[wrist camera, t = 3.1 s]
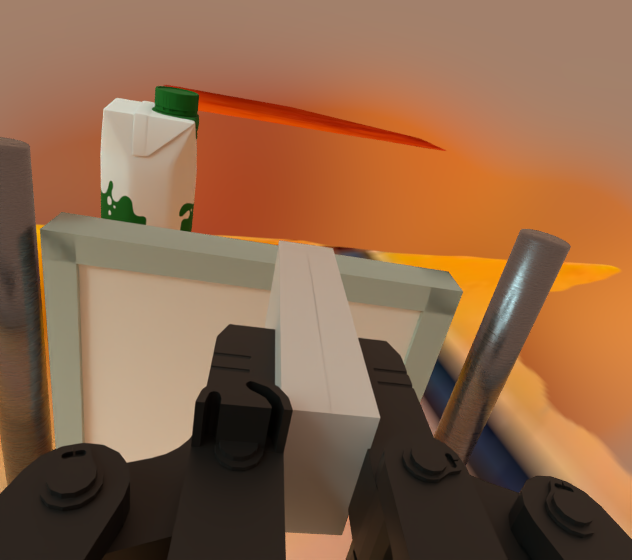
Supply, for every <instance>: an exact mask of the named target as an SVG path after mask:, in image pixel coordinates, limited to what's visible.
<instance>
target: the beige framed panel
mask: <svg viewBox="0 0 632 560" xmlns="http://www.w3.org/2000/svg"><path fill="white" fill-rule="evenodd" d="M40 234H41V248H42V262H43V276H44V290H45V304H46V318H47V332H48V346H49V360H50V374H51V388H52V402H53V416H54V430H55V444H56V449H57V448H59V447H62V446H67V445H73V444H79V443H92V444H101V445H105V446H107V447H109V448H111V449H113V450H115V451H117V452H119V453H120V454H121V456H122V457H123V458H124V459H125V461H126V462H133V461H138V460H143V459H148V458H153V457H156V456H160V455H164V454H167V453H169V452H171V451H173V450H175V449H177V448H179V447H180V446H181V445H182V444H184V443H185V442H186V441H188V440H189V439H190V437H191V436H192V431H193V421H194V410H195V401H196V399H197V397H198V396H199V394H200V392H201V390H202V389H203V388H204V387H206V386H207V382H208V377H209V372H210V368H211V362H212V357H213V353H214V348H215V343H216V338H217V336H218V335H219V334H220V333H221V332H222V331H223V330H224V329H225V328H226V327H227V326H228V325H229V324H234V325H243V326H251V327H259V328H265V323H266V317H267V311H268V305H269V299H270V293H271V287H272V281H273V275H274V269H275V263H276V257H277V251H278V245H271V244H265V243H258V242H252V241H245V240H239V239H232V238H226V237H219V236H213V235H206V234H200V233H193V232H187V231H180V230H174V229H167V228H161V227H154V226H148V225H141V224H135V223H128V222H122V221H116V220H109V219H103V218H95V217H90V216H83V215H76V214H70V213H64V212H61V213H60V214H59V215H58V216H56V217H55V218H54V219H52V220H51V221H50V222H49V223H48V224H46V225H45V226H44V227H42V228H41V229H40ZM335 258H336V261H337V265H338V268H339V272H340V276H341V279H342V283H343V286H344V290H345V293H346V297H347V301H348V304H349V308H350V311H351V315H352V318H353V322H354V326H355V329H356V333H357V336H358V338H365V339H373V340H382V341H387V342H388V343H389V344H390V345H391V346H392V347H393V348H394V349H395V350H396V351H397V352H398V353H399V354H400V355H401V358H402V360H403V363H404V365H405V368H406V370H407V375H409V377H410V380H411V382H412V388H414V390H415V392H416V395H417V397H418V400H419V402H421V399H422V396H423V394H424V391H425V389H426V386H427V384H428V381H429V378H430V376H431V373H432V371H433V368H434V365H435V363H436V360H437V358H438V355H439V352H440V350H441V347H442V345H443V342H444V340H445V337H446V334H447V332H448V329H449V327H450V324H451V321H452V319H453V316H454V314H455V311H456V308H457V306H458V303H459V301H460V298H461V296H462V293H463V291H462V290H461V288H460V287H459V286H458V284H457V283H456V281H455V280H454V279H453V277H452V276H451V275H450V273H449V272H447V271H440V270H434V269H427V268H421V267H414V266H408V265H401V264H395V263H388V262H382V261H375V260H369V259H362V258H356V257H349V256H343V255H336V254H335Z"/></svg>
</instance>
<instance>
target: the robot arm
mask: <svg viewBox="0 0 632 560" xmlns="http://www.w3.org/2000/svg"><path fill="white" fill-rule="evenodd" d="M348 515H349V520H350V526H351V533H352V539H353V540H352V543H351V546H350V549H349V552H348V555H347V557H346V560H632V539H631V538H630V537H629V536H628V535H627V534H626V533H625V532H624V530H623V529H622V528H621V527H620V526H619V525H618V524H617V523H616V522H615V521H614V520H613V519H612V518H611V517H610V515H609V514H608V513H607V512H606V511H605V510H604V509H603V508H602V507H601V506H600V505H599V504H598V503H597V502H595V501H594V500H593V499H592V498H591V497H590V496H589V495H588V494H586V493H585V492H584V491H582V490H580V489H579V488H577V487H575V486H573V485H572V484H570V483H568V482H566V481H563V480H560V479H557V478H554V477H551V476H535V477H533V478H531V479H529V480H527V481H526V482H525V484H524V486H523V488H522V490H521V491H520V493H517V492H515V491H512V490H509V489H506V488H503V487H500V486H497V485H494V484H492V483H489V482H486V481H483V480H481V479H478V478H476V477H474V476H471V475H469V472H468V470H467V468H466V466H465V465H464V463H463V462H462V460H461V459H460V457H459V456H458V454H457V453H455V452H454V451H453V450H452V449H451V448H450V447H448V446H447V445H446V444H445V443H443V442H441V441H439V440H437V439H435V438H434V437H433V435H432V432H431V430H430V427H429V425H428V422H427V420H426V417H425V415H424V412H423V410H422V407H421V405H420V402H419V400H418V397H417V395H416V392H415V390H414V388H412V382H411V380H410V377H409V375H407V370H406V368H405V365H404V363H403V360H402V358H401V355H400V354H399V353H398V352H397V351H396V350H395V349H394V348H393V347H392V346H391V345H390V344H389V343H388V342H387V341H382V340H373V339H365V338H358V336H357V333H356V329H355V326H354V322H353V318H352V315H351V311H350V308H349V304H348V301H347V297H346V293H345V290H344V286H343V283H342V279H341V276H340V272H339V268H338V265H337V261H336V258H335V254H334V251H333V248H327V247H320V246H314V245H307V244H300V243H293V242H287V241H280V240H279V245H278V251H277V257H276V263H275V269H274V275H273V281H272V287H271V293H270V299H269V305H268V311H267V317H266V323H265V328H259V327H251V326H243V325H234V324H229V325H228V326H227V327H226V328H225V329H224V330H223V331H222V332H221V333H220V334H219V335H218V336H217V338H216V343H215V348H214V353H213V357H212V362H211V368H210V372H209V377H208V382H207V386H206V387H204V388H203V389H202V390H201V392H200V394H199V396H198V397H197V399H196V401H195V410H194V421H193V431H192V436H191V437H190V439H189V440H188V441H186V442H185V443H184V444H182V445H181V446H180V447H179V448H177V449H175V450H173V451H171V452H169V453H167V454H164V455H160V456H156V457H153V458H148V459H143V460H138V461H133V462H126V461H125V459H124V458H123V457H122V456H121V454H120V453H119V452H117V451H115V450H113V449H111V448H109V447H107V446H105V445H101V444H92V443H79V444H73V445H67V446H62V447H59V448H57V449H55V450H52V451H50V452H48V453H45V454H43V455H41V456H40V457H38V458H37V459H36V460H35V461H33V462H32V463H31V464H30V465H28V466H27V467H26V468H24V469H23V470H22V471H21V472H20V473H19V474H18V475H17V477H16V478H15V479H14V480H13V481H12V482H11V483H10V484H9V485H8V486H7V487H6V488H5V489H4V490H3V491H2V493H1V494H0V560H286V549H285V532H291V533H310V534H329V535H342V533H343V530H344V527H345V524H346V521H347V518H348Z"/></svg>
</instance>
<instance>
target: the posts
mask: <svg viewBox="0 0 632 560" xmlns="http://www.w3.org/2000/svg"><path fill="white" fill-rule="evenodd" d="M34 211H35V210H34V198H33V184H32V170H31V157H30V146H29V145H28V144H27V143H25V142H22V141H18V140H15V139H9V138H3V137H0V437H1V444H2V451H3V458H4V465H5V472H6V479H7V486H8V485H9V484H10V483H11V482H12V481H13V480H14V479H15V478H16V477H17V475H18V474H19V473H20V472H21V471H22V470H23V469H24V468H26V467H27V466H28V465H30V464H31V463H32V462H33V461H35V460H36V459H37V458H38V457H40V456H41V455H43V454H45V453H48V452H50V451H52V450H53V448H52V434H51V421H50V408H49V395H48V382H47V368H46V355H45V342H44V329H43V316H42V302H41V289H40V276H39V263H38V250H37V236H36V223H35V212H34ZM569 249H570V245H569V244H568V243H567V242H566V241H564V240H562V239H560V238H558V237H556V236H553V235H550V234H548V233H544V232H541V231H537V230H531V229H522V230H520V232H519V235H518V237H517V240H516V242H515V245H514V247H513V249H512V252H511V254H510V256H509V259H508V261H507V263H506V266H505V268H504V270H503V273H502V275H501V278H500V280H499V282H498V285H497V287H496V289H495V292H494V294H493V297H492V299H491V301H490V304H489V306H488V308H487V311H486V313H485V316H484V318H483V320H482V323H481V325H480V327H479V330H478V332H477V335H476V337H475V339H474V342H473V344H472V346H471V349H470V351H469V354H468V356H467V358H466V361H465V363H464V365H463V368H462V370H461V373H460V375H459V377H458V380H457V382H456V384H455V387H454V389H453V392H452V394H451V396H450V399H449V401H448V403H447V406H446V408H445V410H444V413H443V415H442V418H441V420H440V422H439V425H438V427H437V429H436V432H435V434H434V438H435V439H437V440H439V441H441V442H443V443H445V444H446V445H447V446H448V447H450V448H451V449H452V450H453V451H454V452H455V453H457V454H458V456H459V457H460V459H461V460H462V462H463V463H464V465H465V466H466V464H467V462H468V459H469V457H470V455H471V453H472V451H473V449H474V447H475V445H476V443H477V441H478V439H479V437H480V434H481V432H482V430H483V428H484V426H485V424H486V422H487V420H488V418H489V416H490V414H491V412H492V410H493V407H494V405H495V403H496V401H497V399H498V397H499V395H500V393H501V391H502V389H503V387H504V385H505V383H506V380H507V378H508V376H509V374H510V372H511V370H512V368H513V366H514V364H515V362H516V360H517V358H518V356H519V353H520V351H521V349H522V347H523V345H524V343H525V341H526V339H527V337H528V335H529V332H530V330H531V328H532V326H533V324H534V322H535V320H536V318H537V316H538V314H539V312H540V310H541V308H542V306H543V304H544V301H545V299H546V297H547V295H548V293H549V291H550V289H551V287H552V285H553V283H554V281H555V279H556V277H557V274H558V272H559V270H560V268H561V266H562V264H563V262H564V260H565V258H566V256H567V254H568V251H569Z"/></svg>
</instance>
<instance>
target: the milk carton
mask: <svg viewBox="0 0 632 560" xmlns="http://www.w3.org/2000/svg"><path fill="white" fill-rule="evenodd" d="M198 101H199V95H198V94H197V93H195V92H192V91H188V90H184V89H179V88H173V87H164V86H157V87H156V90H155V103H153V102H148V101H143V102H138V101H132V100H127V99H121V98H116V99H115V100H114V101H112V102H111V103H110V104H109V105H108V106H107V107H105V108H104V110H103V125H102V139H101V218H103V219H109V220H116V221H122V222H128V223H135V224H141V225H148V226H154V227H161V228H167V229H174V230H180V231H187V232H191V229H192V219H193V206H194V195H195V184H196V171H197V170H196V155H197V154H196V152H197V150H196V139H197V130H198V125H199V115H198V114H197V111H198Z"/></svg>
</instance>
